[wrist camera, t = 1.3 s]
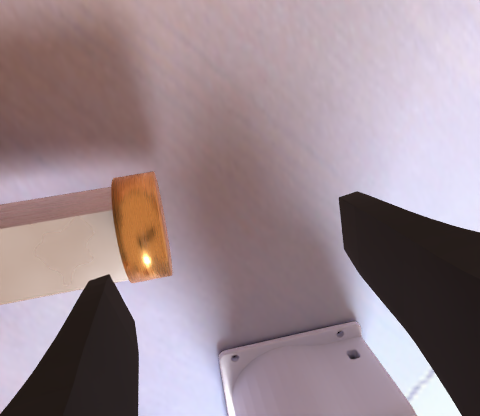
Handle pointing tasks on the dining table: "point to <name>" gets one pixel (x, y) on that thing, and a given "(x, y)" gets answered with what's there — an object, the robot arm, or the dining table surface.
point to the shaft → (83, 239)
